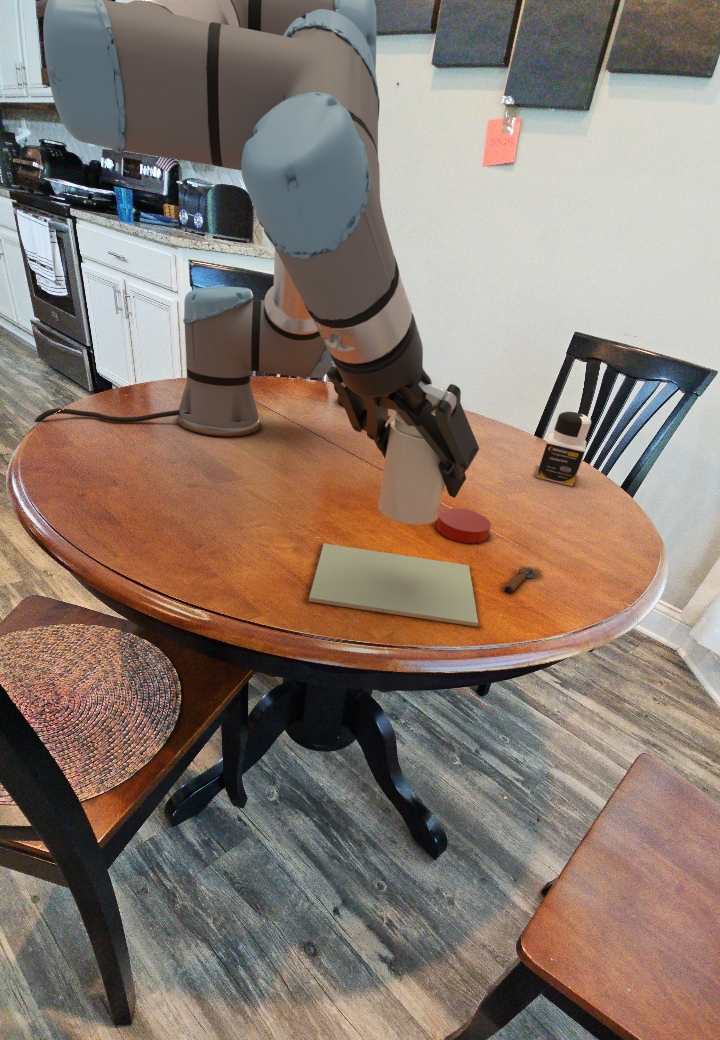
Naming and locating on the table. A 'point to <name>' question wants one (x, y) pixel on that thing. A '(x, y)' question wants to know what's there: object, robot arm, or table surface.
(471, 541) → the lid
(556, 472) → the medicine bottle
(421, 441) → the jar
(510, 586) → the can opener
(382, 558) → the mat
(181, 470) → the table surface
